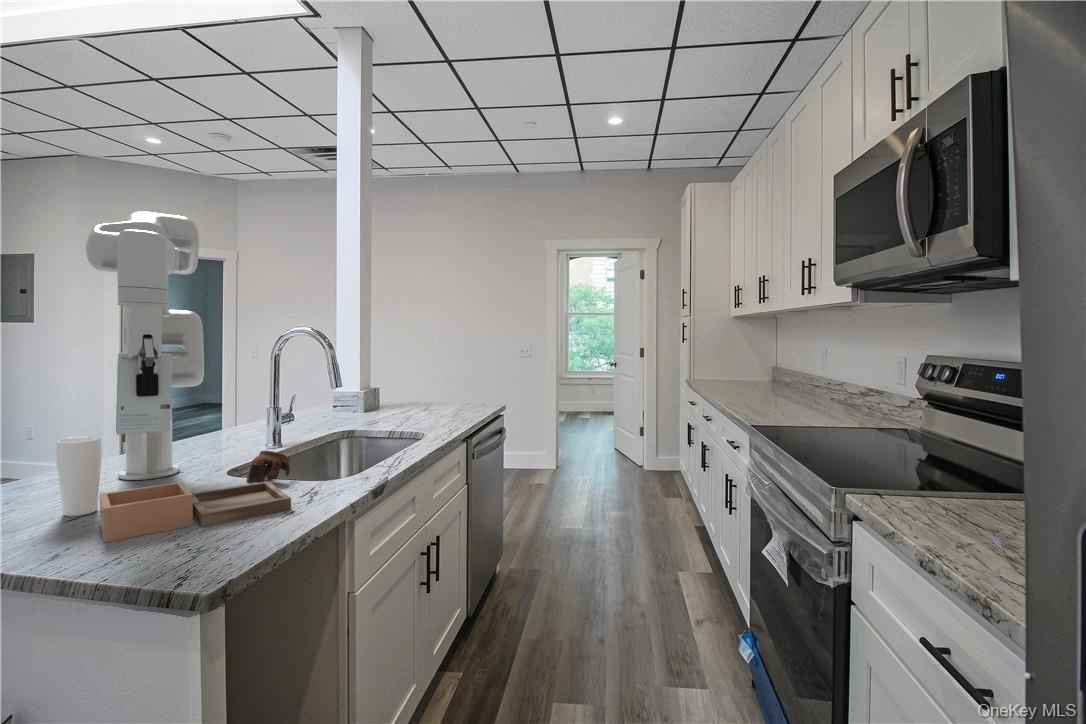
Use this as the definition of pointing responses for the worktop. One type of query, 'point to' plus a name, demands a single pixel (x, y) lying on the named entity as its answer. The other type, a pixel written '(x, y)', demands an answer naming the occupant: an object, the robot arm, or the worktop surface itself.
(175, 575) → the worktop surface
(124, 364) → the skincare box
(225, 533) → the worktop surface
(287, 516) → the worktop surface
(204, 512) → the walnut tray
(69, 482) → the drinking glass
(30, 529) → the worktop surface
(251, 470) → the brown irregular lump
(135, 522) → the open rectangular tray
